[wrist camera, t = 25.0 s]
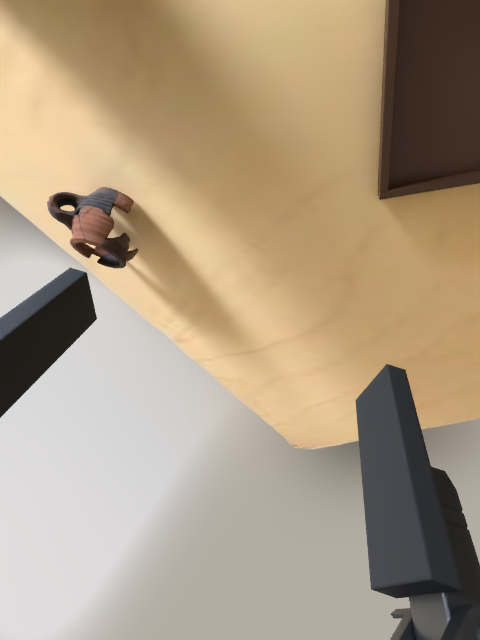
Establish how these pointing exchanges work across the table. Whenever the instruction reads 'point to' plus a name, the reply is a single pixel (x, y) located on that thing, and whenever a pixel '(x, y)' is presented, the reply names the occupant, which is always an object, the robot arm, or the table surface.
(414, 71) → the tray
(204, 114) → the table surface
